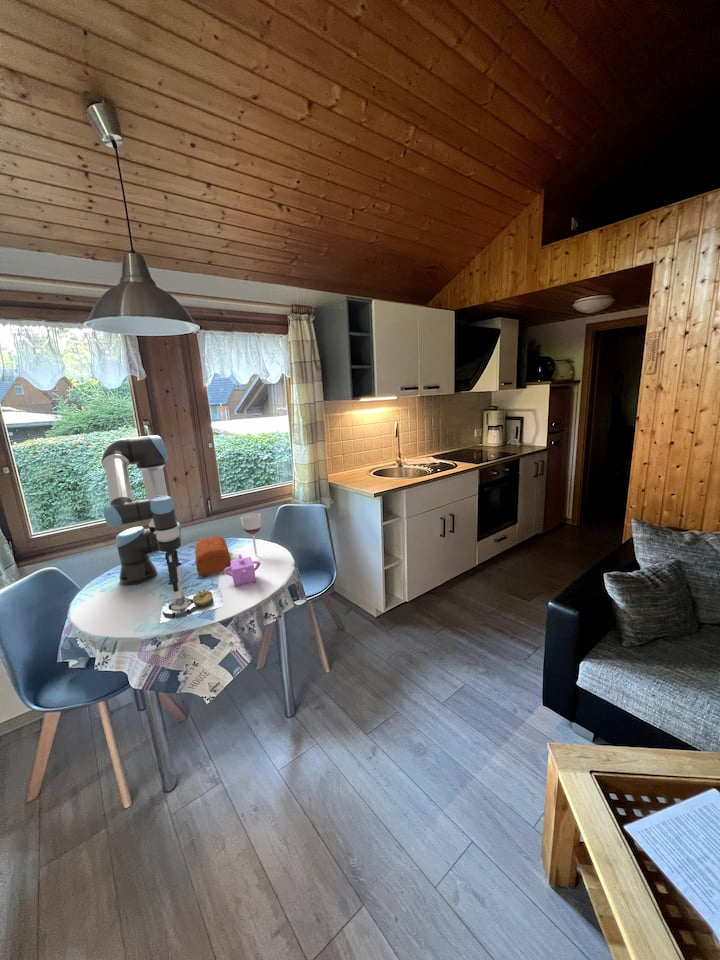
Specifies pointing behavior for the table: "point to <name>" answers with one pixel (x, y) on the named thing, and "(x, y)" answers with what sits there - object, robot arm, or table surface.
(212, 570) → the bread
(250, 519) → the wineglass
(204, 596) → the gold cymbal
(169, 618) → the carrier plate
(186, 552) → the table surface
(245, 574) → the teapot
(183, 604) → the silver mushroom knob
